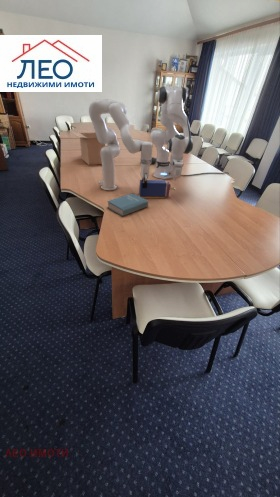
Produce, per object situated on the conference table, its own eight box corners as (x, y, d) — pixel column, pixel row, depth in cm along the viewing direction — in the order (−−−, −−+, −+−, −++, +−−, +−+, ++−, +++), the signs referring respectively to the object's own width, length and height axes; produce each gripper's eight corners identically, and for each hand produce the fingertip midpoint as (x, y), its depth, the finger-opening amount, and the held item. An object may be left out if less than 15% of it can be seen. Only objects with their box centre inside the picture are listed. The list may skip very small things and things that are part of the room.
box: (116, 165, 229) (116, 136, 213) (83, 168, 214) (80, 137, 198) (102, 154, 259) (101, 128, 243) (71, 156, 244) (68, 129, 228)
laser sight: (159, 165, 238) (161, 156, 232) (139, 163, 241) (140, 153, 235) (161, 163, 246) (162, 153, 240) (141, 161, 248) (141, 151, 242)
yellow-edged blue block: (163, 194, 175) (165, 180, 168) (164, 198, 170) (166, 183, 163) (138, 194, 172) (139, 179, 165) (139, 197, 167) (140, 182, 160)
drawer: (173, 194, 175) (175, 182, 169) (174, 196, 171) (176, 184, 165) (144, 193, 172) (145, 181, 166) (145, 196, 168) (146, 183, 162)
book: (132, 199, 164) (132, 193, 161) (147, 207, 155) (148, 200, 152) (107, 207, 150) (107, 200, 147) (123, 216, 141) (123, 209, 138)
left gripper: (139, 157, 161) (137, 181, 172) (142, 164, 147) (140, 190, 158) (149, 158, 162) (147, 182, 173) (153, 165, 148) (150, 190, 159)
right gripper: (168, 156, 164) (166, 175, 173) (175, 164, 148) (172, 184, 156) (176, 156, 165) (174, 175, 174) (184, 164, 149) (180, 184, 157)
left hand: (144, 185), depth 165 cm, fingers closed on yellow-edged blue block, 6 cm apart
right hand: (173, 179), depth 165 cm, fingers closed
